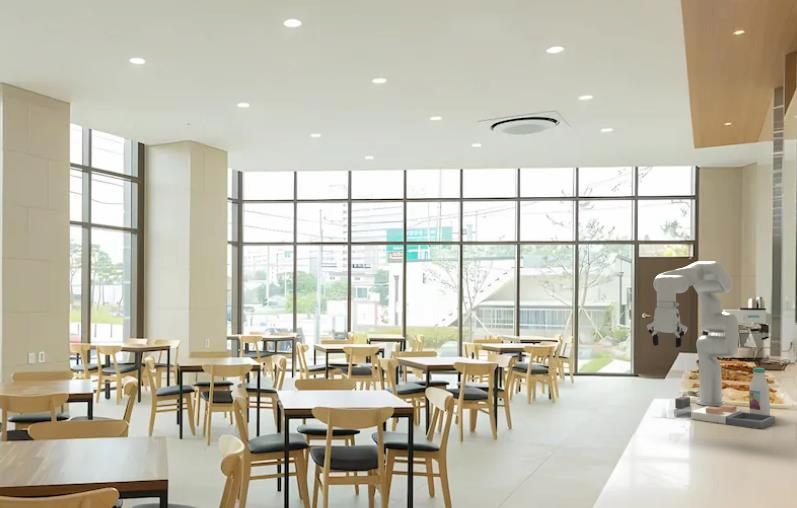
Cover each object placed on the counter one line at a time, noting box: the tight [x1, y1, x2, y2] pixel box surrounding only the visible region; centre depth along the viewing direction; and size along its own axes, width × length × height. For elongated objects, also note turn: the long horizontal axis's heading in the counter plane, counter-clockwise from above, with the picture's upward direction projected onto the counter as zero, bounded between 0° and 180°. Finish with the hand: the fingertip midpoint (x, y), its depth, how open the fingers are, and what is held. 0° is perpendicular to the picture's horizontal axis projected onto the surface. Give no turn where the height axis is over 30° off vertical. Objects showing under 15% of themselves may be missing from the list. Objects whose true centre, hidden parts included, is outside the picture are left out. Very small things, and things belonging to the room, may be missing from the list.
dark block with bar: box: [673, 396, 693, 417], centre depth 311 cm, size 15×3×7 cm, turn 135°
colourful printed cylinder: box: [748, 367, 771, 416], centre depth 307 cm, size 8×8×20 cm
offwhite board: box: [690, 405, 741, 424], centre depth 301 cm, size 16×14×3 cm
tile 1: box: [706, 406, 723, 414], centre depth 297 cm, size 5×5×2 cm
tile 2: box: [718, 404, 737, 412], centre depth 301 cm, size 5×5×2 cm
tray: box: [726, 411, 776, 430], centre depth 291 cm, size 16×13×2 cm
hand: (666, 346), depth 301 cm, fingers open, 9 cm apart
